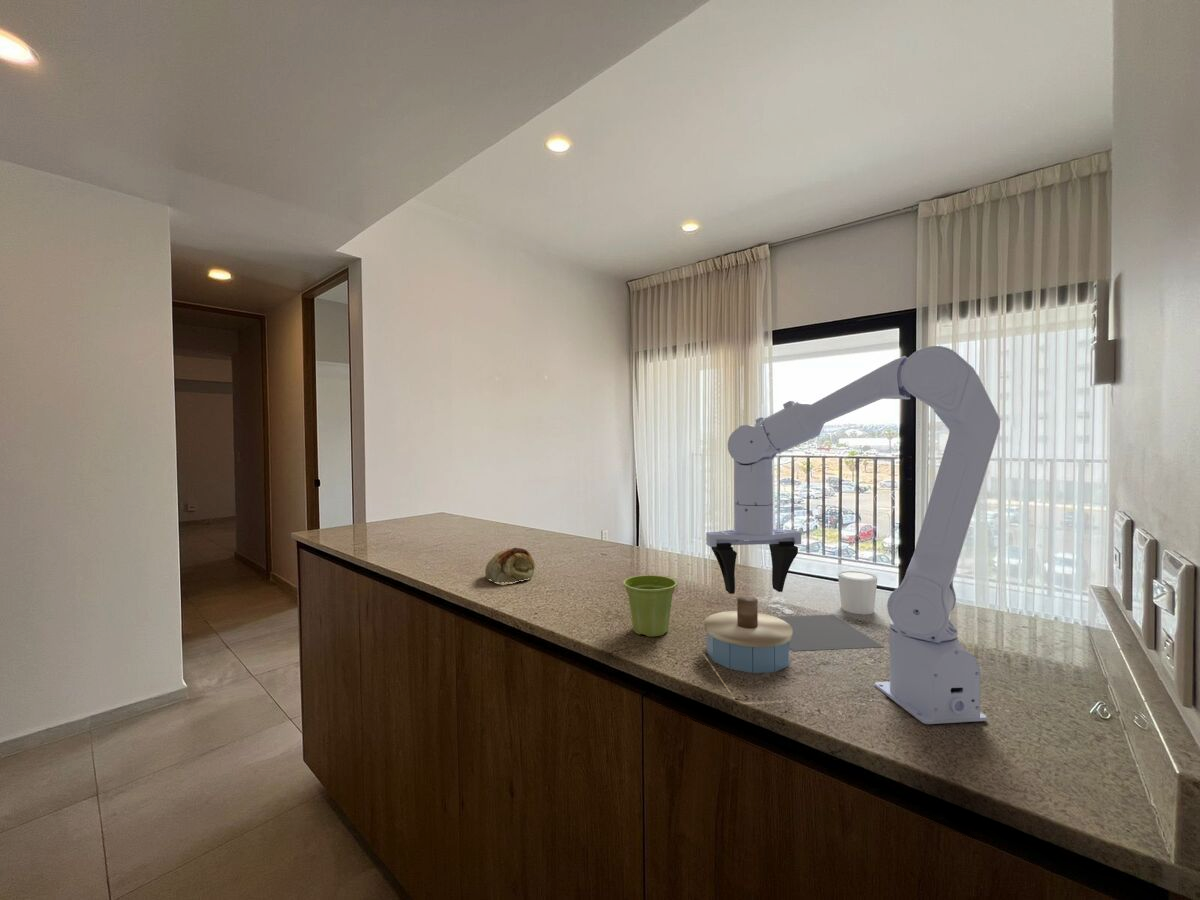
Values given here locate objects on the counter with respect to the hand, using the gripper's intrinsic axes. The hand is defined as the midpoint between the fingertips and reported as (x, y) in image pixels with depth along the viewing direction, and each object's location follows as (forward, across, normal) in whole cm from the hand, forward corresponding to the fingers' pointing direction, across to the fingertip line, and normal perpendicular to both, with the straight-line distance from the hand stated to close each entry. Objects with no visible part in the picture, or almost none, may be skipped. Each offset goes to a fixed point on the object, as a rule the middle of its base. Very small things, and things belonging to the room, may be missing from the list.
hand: (754, 591), depth 78 cm
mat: (+10, -14, -7) cm, 18 cm away
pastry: (+10, +42, -50) cm, 66 cm away
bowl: (+10, +1, +1) cm, 10 cm away
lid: (+6, +1, 0) cm, 6 cm away
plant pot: (+10, +14, -12) cm, 21 cm away
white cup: (+10, -28, -17) cm, 34 cm away
